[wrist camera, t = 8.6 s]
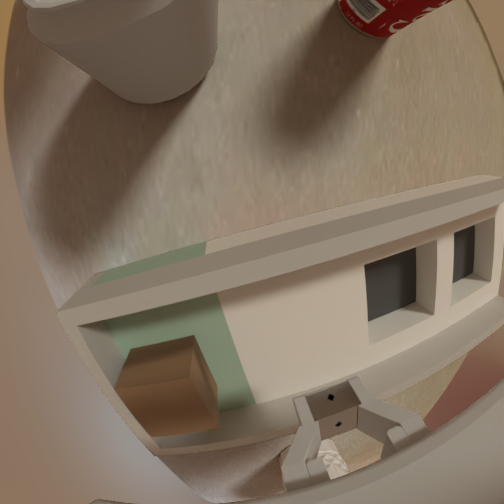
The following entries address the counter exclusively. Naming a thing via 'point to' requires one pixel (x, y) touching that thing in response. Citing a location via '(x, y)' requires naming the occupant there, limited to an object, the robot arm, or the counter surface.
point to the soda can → (385, 14)
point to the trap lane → (306, 306)
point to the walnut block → (170, 388)
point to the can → (131, 42)
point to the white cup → (330, 458)
